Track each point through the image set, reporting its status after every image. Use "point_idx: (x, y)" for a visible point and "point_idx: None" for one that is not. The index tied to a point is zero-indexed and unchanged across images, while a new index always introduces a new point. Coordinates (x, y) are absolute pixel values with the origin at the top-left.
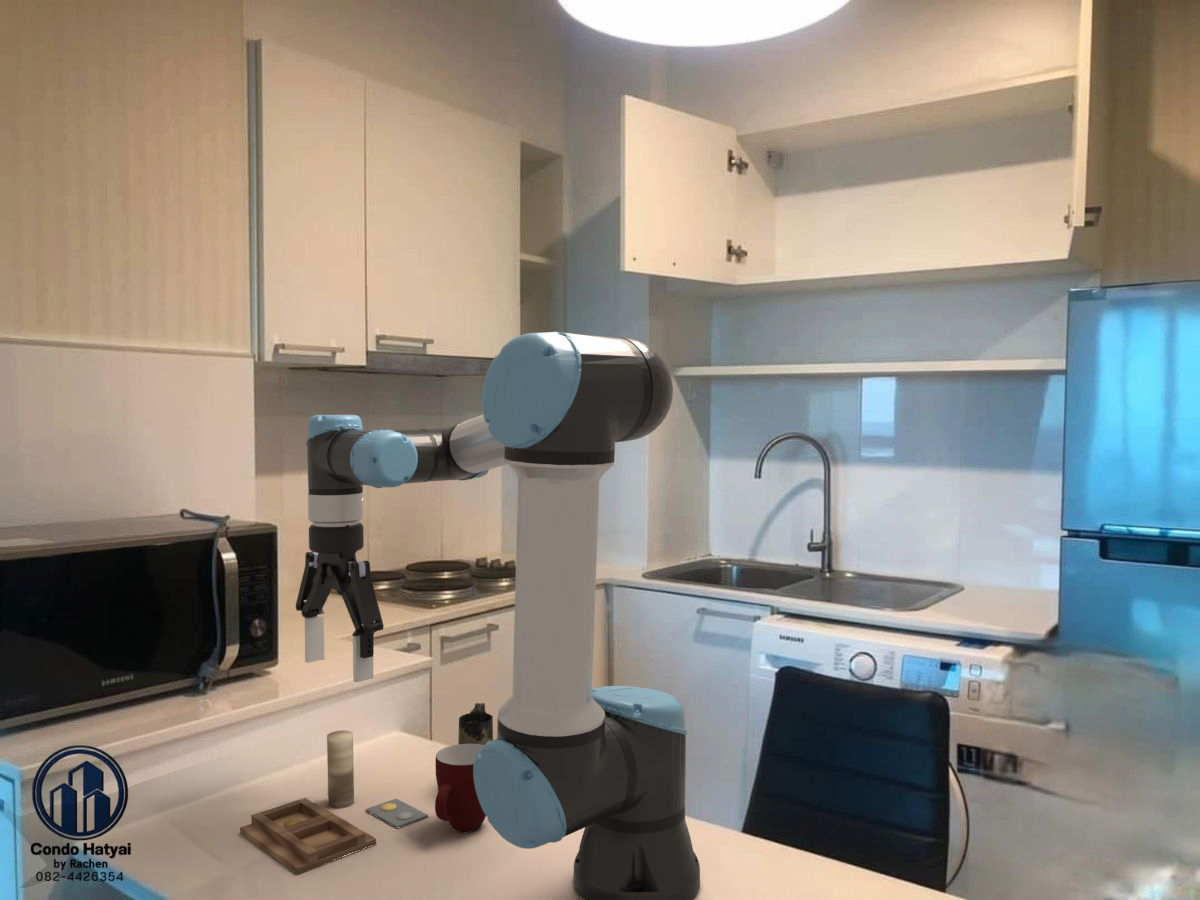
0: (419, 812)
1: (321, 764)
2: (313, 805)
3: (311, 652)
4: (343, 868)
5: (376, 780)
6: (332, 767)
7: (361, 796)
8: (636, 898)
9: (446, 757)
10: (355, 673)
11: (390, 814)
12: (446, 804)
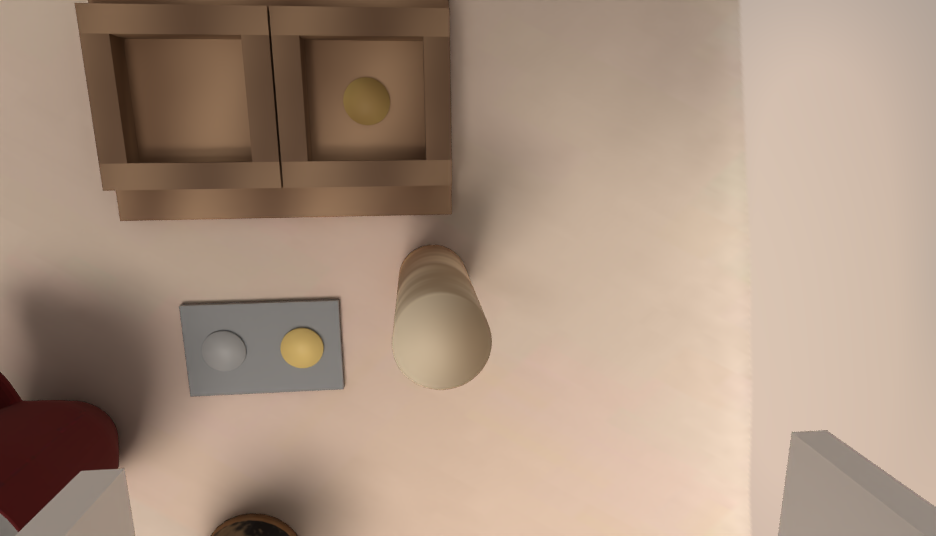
0: (221, 389)
1: (701, 359)
2: (383, 175)
3: (839, 504)
4: (52, 87)
5: (497, 412)
6: (420, 273)
7: None
8: None
9: None
10: (49, 512)
11: (261, 330)
12: (4, 412)
